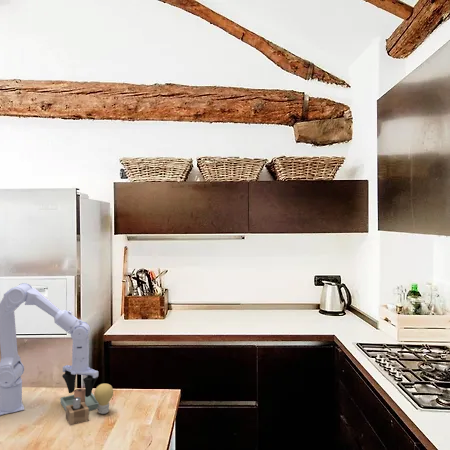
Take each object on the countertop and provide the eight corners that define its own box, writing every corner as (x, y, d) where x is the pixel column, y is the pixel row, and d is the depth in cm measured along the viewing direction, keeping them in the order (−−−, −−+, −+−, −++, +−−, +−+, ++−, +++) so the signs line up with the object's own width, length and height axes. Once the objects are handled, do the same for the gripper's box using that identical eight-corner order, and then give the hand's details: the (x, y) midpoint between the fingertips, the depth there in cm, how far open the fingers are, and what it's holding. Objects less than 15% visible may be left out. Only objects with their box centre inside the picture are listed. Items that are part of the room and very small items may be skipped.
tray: (60, 402, 152) (60, 397, 152) (90, 395, 159) (90, 391, 159) (68, 415, 143) (68, 410, 142) (100, 408, 149) (100, 403, 149)
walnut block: (65, 417, 141) (65, 406, 141) (83, 413, 144) (83, 401, 144) (70, 425, 136) (70, 413, 136) (88, 420, 139) (88, 408, 139)
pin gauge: (71, 418, 140) (72, 398, 140) (78, 416, 142) (79, 396, 142) (74, 421, 139) (74, 400, 138) (81, 419, 140) (81, 398, 140)
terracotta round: (72, 403, 150) (72, 390, 150) (82, 400, 153) (82, 387, 153) (76, 407, 148) (77, 393, 148) (86, 404, 150) (87, 390, 150)
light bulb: (114, 408, 149) (115, 380, 148) (110, 416, 142) (110, 387, 142) (96, 408, 148) (97, 380, 148) (91, 416, 142) (92, 387, 142)
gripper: (56, 357, 149) (56, 394, 149) (89, 363, 144) (88, 402, 144) (70, 351, 156) (69, 387, 156) (102, 357, 151) (101, 394, 151)
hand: (79, 394), depth 150 cm, fingers open, 7 cm apart
